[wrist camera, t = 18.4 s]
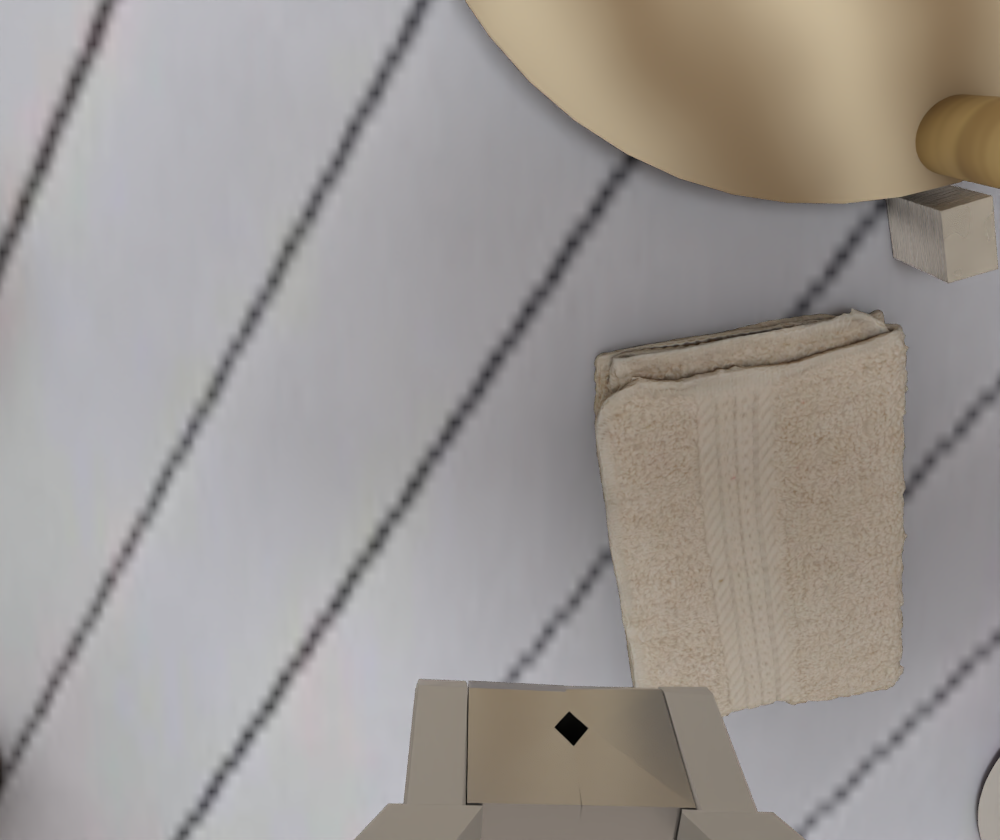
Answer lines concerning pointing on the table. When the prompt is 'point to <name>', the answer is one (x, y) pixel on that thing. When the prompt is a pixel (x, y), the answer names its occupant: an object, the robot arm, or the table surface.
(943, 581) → the table surface
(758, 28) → the turntable
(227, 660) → the table surface
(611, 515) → the washcloth
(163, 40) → the table surface
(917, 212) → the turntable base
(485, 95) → the table surface
